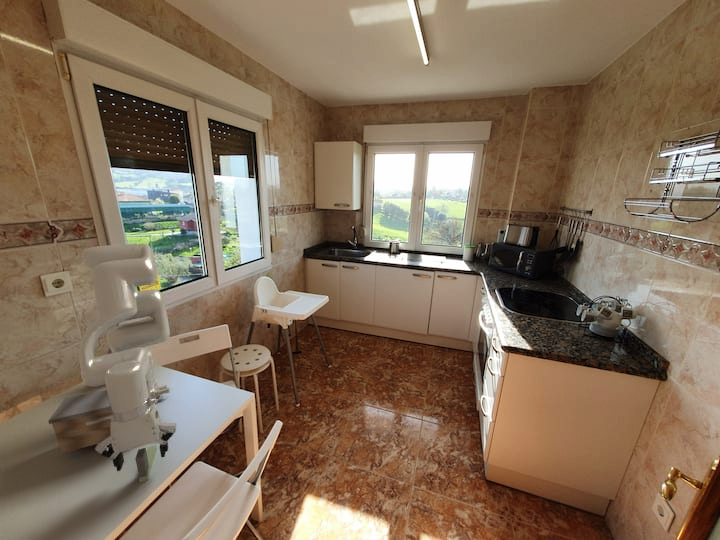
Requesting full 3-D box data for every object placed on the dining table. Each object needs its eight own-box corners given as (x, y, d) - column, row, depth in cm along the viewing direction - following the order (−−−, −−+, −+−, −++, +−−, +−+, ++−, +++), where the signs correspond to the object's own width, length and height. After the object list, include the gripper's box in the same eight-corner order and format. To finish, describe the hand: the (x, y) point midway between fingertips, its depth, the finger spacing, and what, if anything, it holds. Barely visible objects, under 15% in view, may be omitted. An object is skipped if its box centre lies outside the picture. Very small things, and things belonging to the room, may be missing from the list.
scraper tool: (156, 449, 85) (152, 427, 83) (148, 480, 76) (143, 456, 74) (148, 451, 85) (144, 429, 82) (139, 483, 75) (134, 459, 73)
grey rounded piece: (174, 424, 95) (174, 420, 95) (176, 433, 91) (176, 429, 91) (156, 431, 92) (156, 427, 91) (158, 441, 88) (157, 436, 88)
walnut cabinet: (155, 418, 97) (148, 380, 93) (149, 440, 88) (141, 399, 84) (76, 438, 88) (65, 398, 84) (61, 465, 80) (47, 421, 76)
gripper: (173, 389, 79) (181, 438, 83) (94, 407, 72) (107, 460, 76) (169, 407, 73) (178, 459, 77) (81, 429, 65) (96, 485, 70)
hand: (143, 459), depth 77 cm, fingers open, 9 cm apart
